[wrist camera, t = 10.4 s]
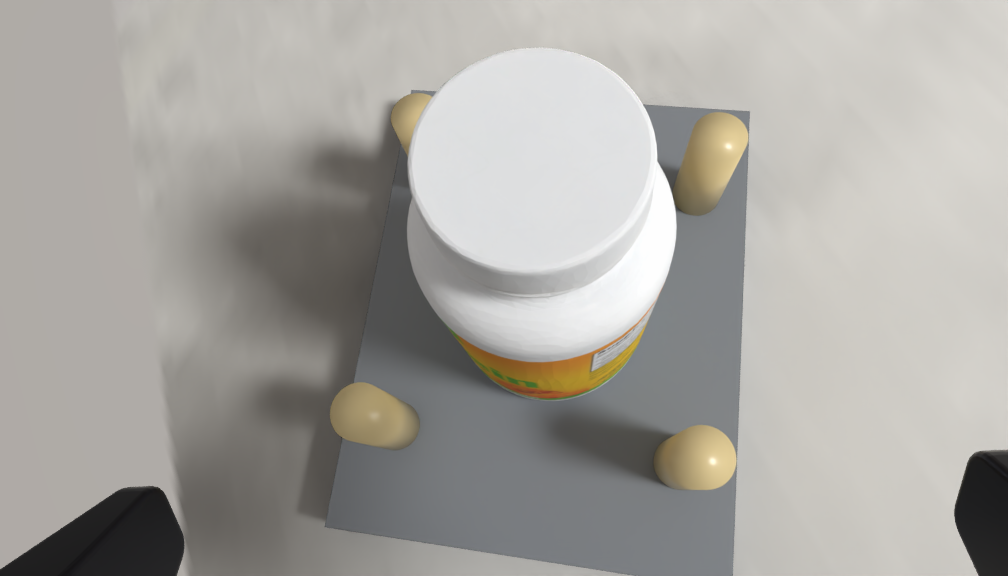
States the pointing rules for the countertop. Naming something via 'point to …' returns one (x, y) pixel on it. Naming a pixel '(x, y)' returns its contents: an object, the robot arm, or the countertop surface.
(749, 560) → the countertop surface
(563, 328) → the supplement bottle
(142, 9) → the countertop surface
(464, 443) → the plate
